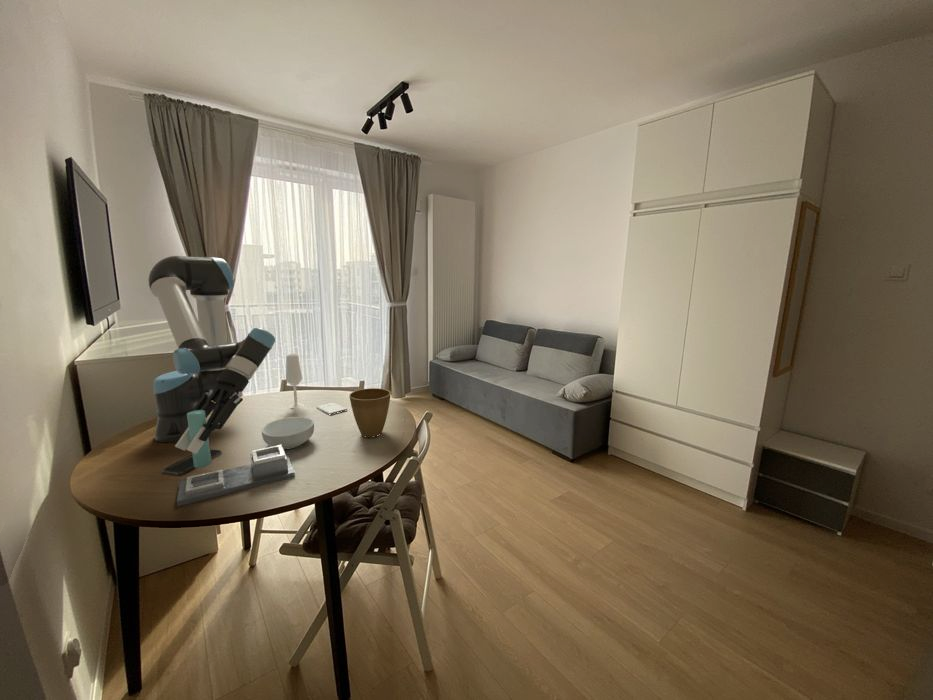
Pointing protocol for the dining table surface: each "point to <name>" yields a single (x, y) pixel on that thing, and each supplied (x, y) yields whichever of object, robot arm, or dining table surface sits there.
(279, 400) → the dining table surface
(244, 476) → the grey slotted holder
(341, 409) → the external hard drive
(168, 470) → the phone
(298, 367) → the champagne flute
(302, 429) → the cereal bowl
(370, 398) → the plant pot
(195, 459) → the plug
